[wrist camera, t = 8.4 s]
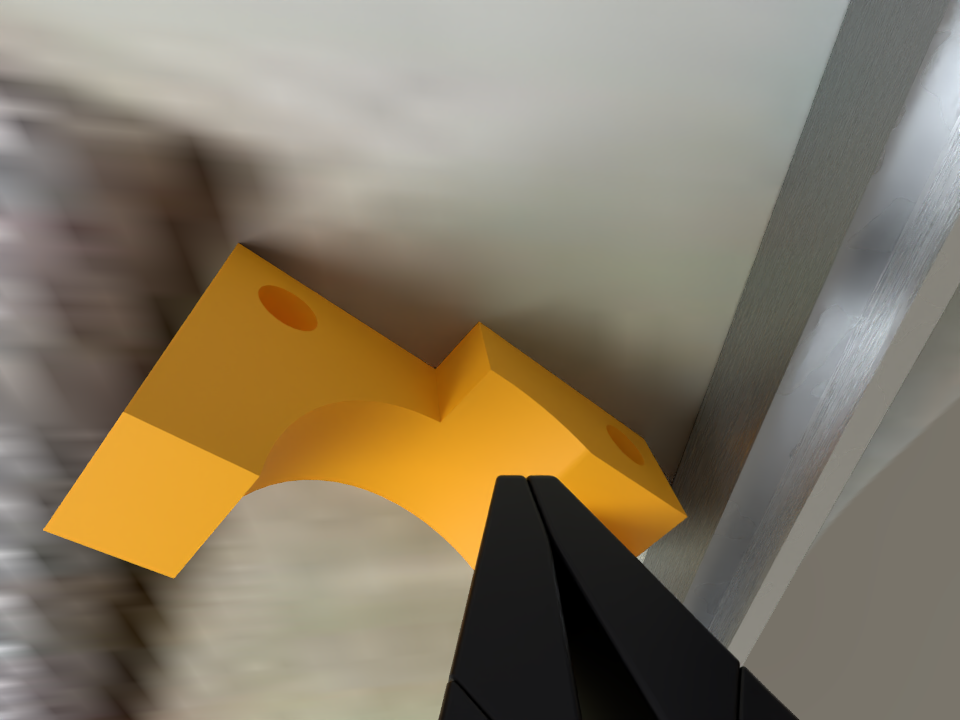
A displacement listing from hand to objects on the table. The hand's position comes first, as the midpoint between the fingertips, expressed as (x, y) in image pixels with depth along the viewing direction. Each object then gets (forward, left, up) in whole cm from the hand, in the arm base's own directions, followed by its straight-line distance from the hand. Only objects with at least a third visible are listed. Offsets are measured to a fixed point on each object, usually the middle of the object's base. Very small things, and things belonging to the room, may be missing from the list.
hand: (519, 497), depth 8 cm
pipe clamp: (-3, +1, -7) cm, 8 cm away
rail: (0, -8, -7) cm, 10 cm away
